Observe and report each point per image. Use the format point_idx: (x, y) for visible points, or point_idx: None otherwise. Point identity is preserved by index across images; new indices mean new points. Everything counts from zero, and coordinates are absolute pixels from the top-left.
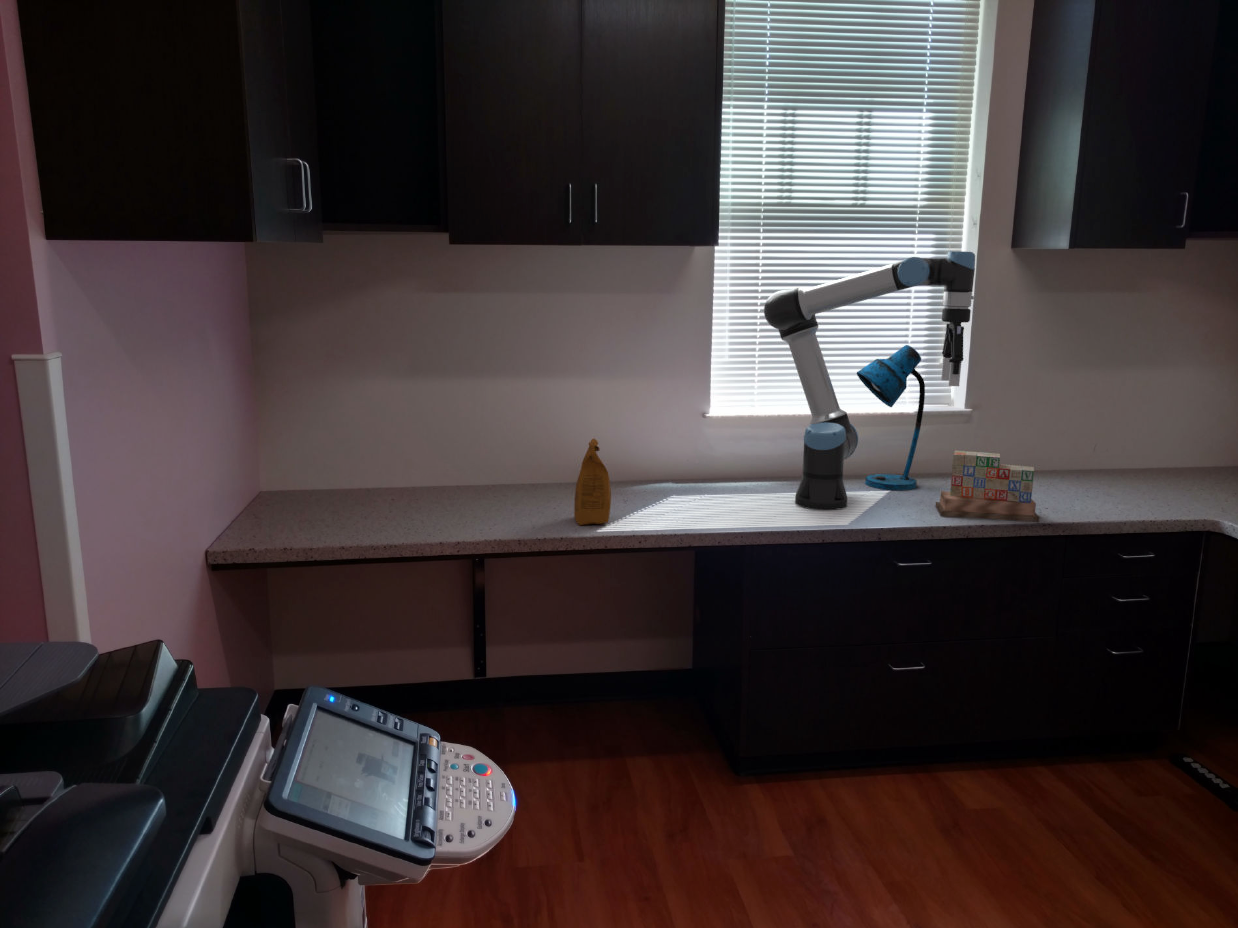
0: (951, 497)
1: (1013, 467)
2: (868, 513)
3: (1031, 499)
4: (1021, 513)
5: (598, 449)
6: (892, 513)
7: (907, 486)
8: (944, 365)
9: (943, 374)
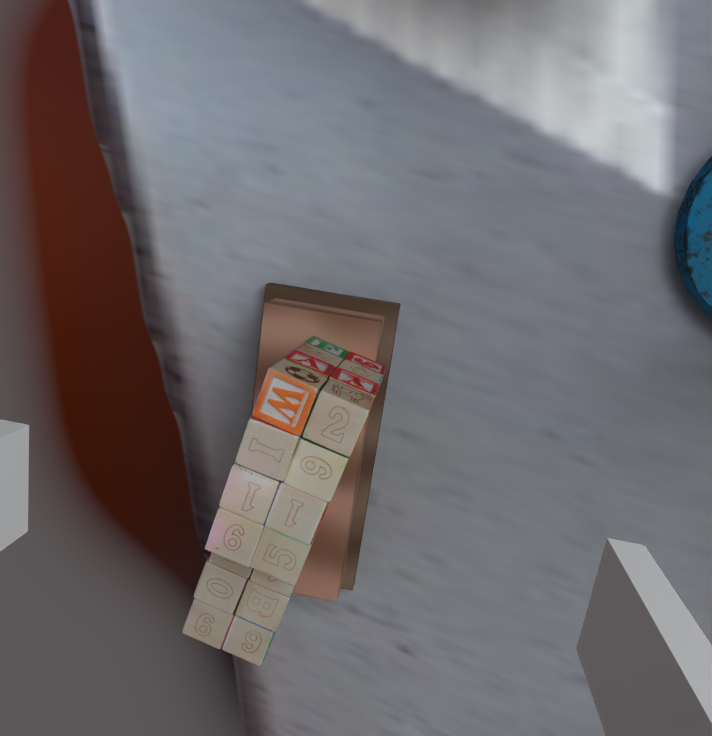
0: (283, 330)
1: (236, 586)
2: (286, 19)
3: None
4: None
5: None
6: (295, 116)
7: (688, 276)
8: (693, 730)
9: (628, 606)
